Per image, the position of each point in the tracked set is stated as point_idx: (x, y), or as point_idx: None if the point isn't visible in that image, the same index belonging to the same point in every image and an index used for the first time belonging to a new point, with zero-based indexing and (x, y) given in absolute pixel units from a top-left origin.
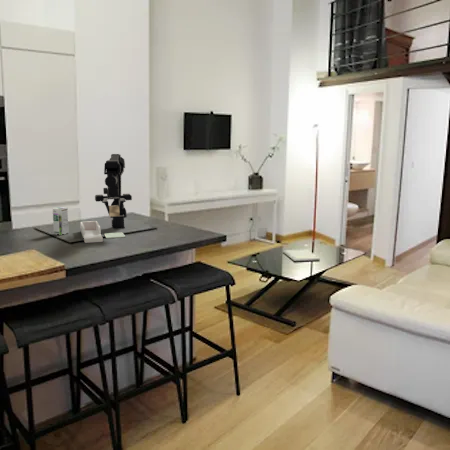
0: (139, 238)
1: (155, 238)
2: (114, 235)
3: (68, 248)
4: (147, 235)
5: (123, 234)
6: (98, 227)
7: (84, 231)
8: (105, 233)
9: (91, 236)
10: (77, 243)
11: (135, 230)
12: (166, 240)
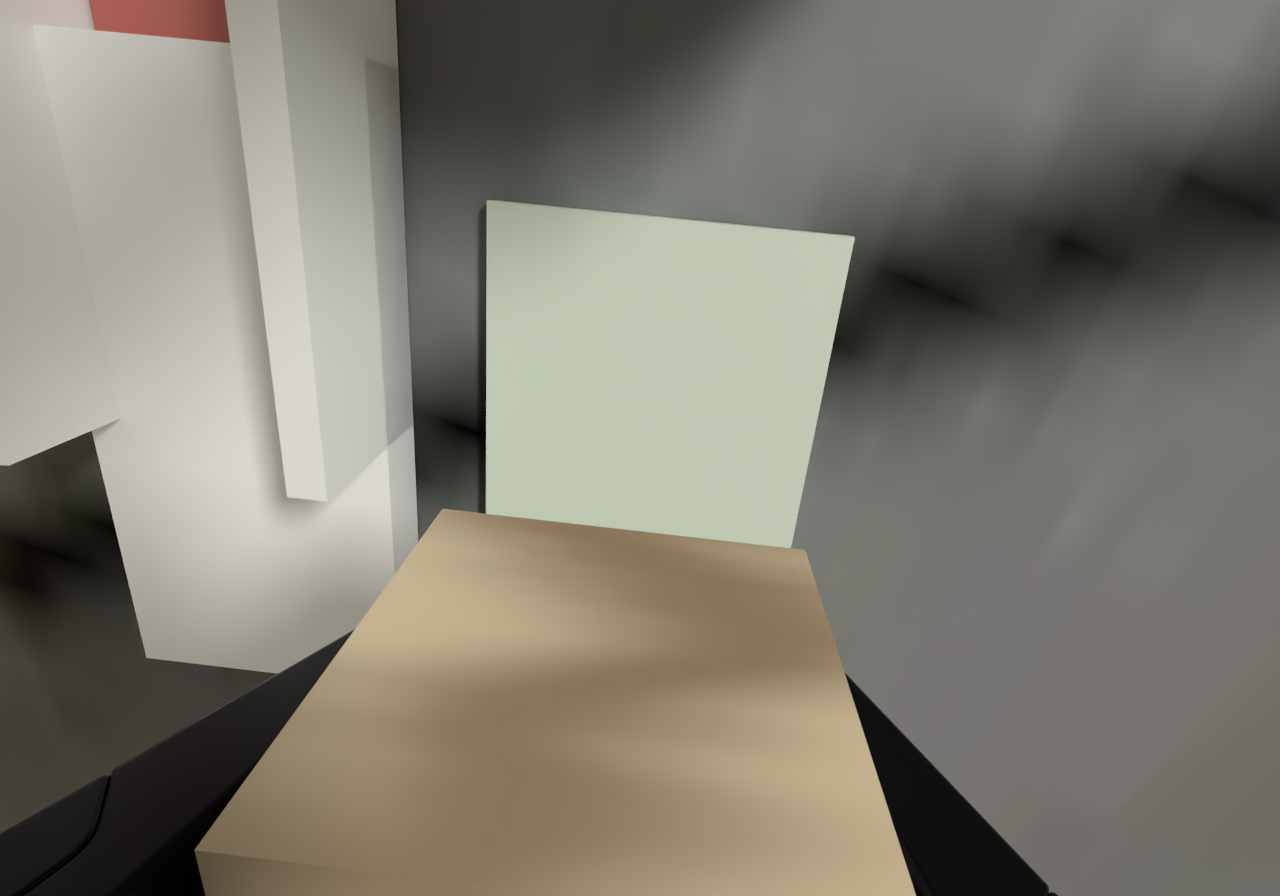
0: (951, 680)
1: (1155, 758)
2: (639, 432)
3: (32, 767)
4: (1167, 565)
5: (807, 422)
6: (284, 474)
7: (54, 441)
8: (512, 210)
9: (234, 556)
10: (95, 613)
11: (1225, 60)
12: (1213, 881)
